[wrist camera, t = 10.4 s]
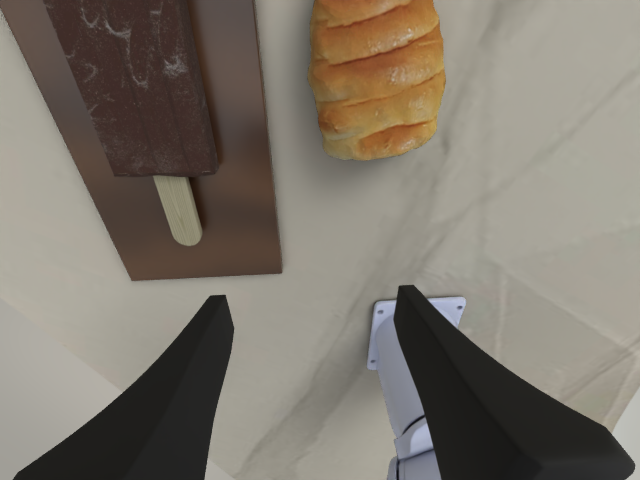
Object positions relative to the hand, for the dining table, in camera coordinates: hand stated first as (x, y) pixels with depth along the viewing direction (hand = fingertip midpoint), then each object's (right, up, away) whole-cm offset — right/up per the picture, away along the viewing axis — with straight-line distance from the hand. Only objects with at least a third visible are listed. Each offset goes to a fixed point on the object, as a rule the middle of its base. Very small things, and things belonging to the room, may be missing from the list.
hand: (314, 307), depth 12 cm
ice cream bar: (-8, +9, +3) cm, 13 cm away
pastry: (+3, +12, +4) cm, 13 cm away
